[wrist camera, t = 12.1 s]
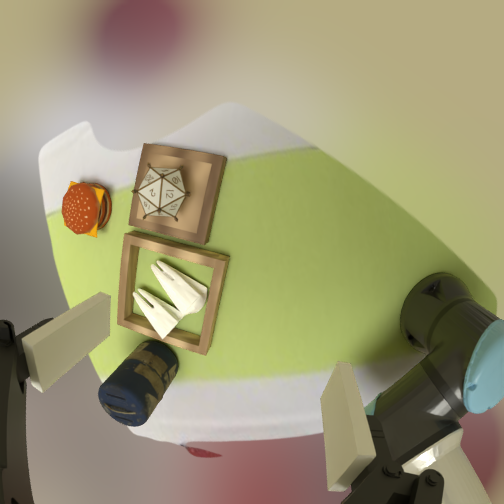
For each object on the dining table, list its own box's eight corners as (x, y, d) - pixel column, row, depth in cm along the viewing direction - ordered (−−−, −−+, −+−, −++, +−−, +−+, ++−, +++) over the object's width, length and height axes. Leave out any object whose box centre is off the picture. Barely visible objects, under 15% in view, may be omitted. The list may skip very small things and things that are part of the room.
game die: (170, 195, 48) (116, 194, 40) (191, 154, 43) (132, 147, 36) (191, 233, 44) (131, 236, 37) (215, 191, 39) (150, 187, 32)
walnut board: (227, 158, 44) (223, 156, 42) (208, 242, 47) (203, 245, 45) (150, 145, 45) (143, 143, 43) (135, 223, 48) (127, 225, 46)
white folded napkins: (215, 295, 49) (174, 245, 48) (209, 304, 45) (164, 249, 44) (170, 331, 51) (132, 285, 51) (161, 341, 47) (121, 292, 47)
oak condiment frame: (229, 256, 47) (225, 261, 44) (210, 346, 51) (205, 355, 48) (134, 230, 49) (124, 233, 45) (125, 316, 53) (117, 323, 49)
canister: (177, 382, 54) (143, 441, 37) (137, 367, 55) (95, 418, 38) (182, 347, 52) (143, 405, 35) (139, 331, 53) (90, 380, 35)
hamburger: (116, 185, 48) (95, 186, 41) (109, 236, 50) (88, 242, 43) (80, 178, 48) (58, 178, 42) (74, 225, 50) (53, 230, 44)
